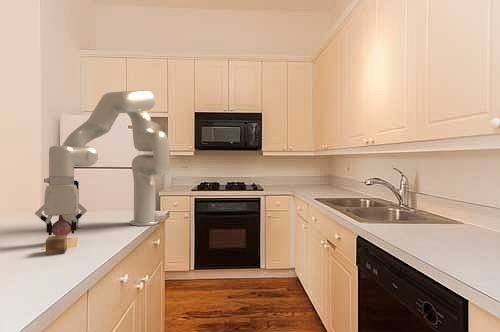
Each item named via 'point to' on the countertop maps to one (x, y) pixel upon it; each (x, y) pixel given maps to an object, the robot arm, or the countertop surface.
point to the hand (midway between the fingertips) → (61, 233)
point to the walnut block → (56, 245)
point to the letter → (70, 243)
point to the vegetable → (61, 227)
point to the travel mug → (69, 218)
